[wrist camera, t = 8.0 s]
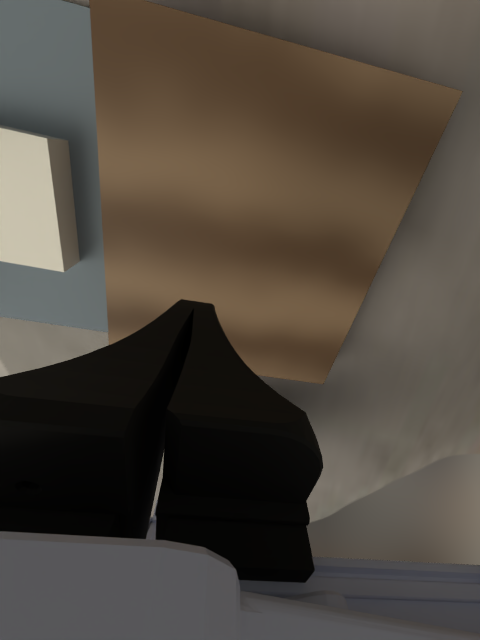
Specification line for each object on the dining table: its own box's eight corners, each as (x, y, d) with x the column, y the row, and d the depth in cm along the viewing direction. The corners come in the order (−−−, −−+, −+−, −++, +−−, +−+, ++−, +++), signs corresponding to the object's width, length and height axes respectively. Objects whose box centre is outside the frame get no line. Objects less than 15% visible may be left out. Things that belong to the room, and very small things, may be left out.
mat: (111, 329, 22) (109, 332, 22) (-41, 307, 21) (-46, 309, 20) (95, 12, 13) (91, 8, 12) (-176, -63, 12) (-189, -70, 11)
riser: (313, 359, 24) (323, 384, 21) (124, 331, 22) (109, 354, 19) (423, 102, 15) (462, 91, 12) (117, 18, 13) (88, -16, 10)
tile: (-25, 256, 16) (-1, 247, 18) (63, 272, 17) (79, 261, 19) (-68, 112, 13) (-32, 117, 14) (46, 138, 13) (68, 140, 15)
